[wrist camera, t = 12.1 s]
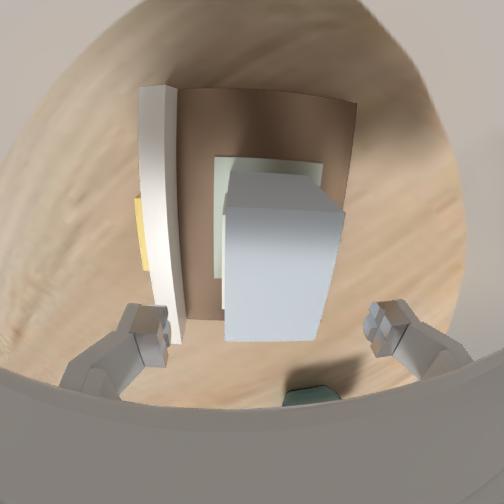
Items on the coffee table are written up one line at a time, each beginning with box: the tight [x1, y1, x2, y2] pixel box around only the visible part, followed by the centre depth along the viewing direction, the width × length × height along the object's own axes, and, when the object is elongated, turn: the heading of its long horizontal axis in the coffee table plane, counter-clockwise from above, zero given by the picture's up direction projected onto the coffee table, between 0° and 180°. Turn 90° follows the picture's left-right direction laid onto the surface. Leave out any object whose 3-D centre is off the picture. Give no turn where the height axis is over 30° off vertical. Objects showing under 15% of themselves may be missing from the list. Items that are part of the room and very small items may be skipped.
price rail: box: [134, 84, 187, 344], centre depth 17 cm, size 2×18×3 cm, turn 177°
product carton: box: [222, 171, 346, 342], centre depth 16 cm, size 5×8×7 cm
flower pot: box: [282, 386, 342, 407], centre depth 29 cm, size 9×9×9 cm
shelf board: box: [176, 88, 357, 321], centre depth 19 cm, size 13×18×2 cm
